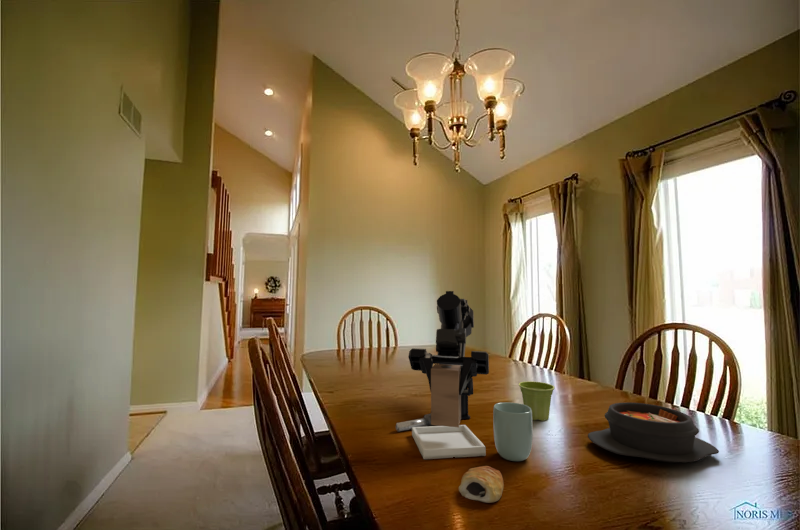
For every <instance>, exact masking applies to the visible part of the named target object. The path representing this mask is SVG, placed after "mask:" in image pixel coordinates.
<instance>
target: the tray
mask: <svg viewBox="0 0 800 530" xmlns="http://www.w3.org/2000/svg"><path fill="white" fill-rule="evenodd" d="M411 436H412V438H413V439H414V442H415V444H416V446H417V449H418V451H419V453H420V454H421V457H422V459H423V460H433V459H434V460H436V459H450V458H451V459H452V458H453V457H455V458H467V457H468V458H471V457H485V456H486V455H487V453H486V452H487V451H486V450H487V449H486V446H485V445H484V443H483V442H482V441H481V440H480V439H479V438H478V437H477V436H476V434H474V433H473V431H472V430H471V429H470V428H469V427H468V426H467V425H466V424H459V427H449V426H439V425H432V426H426V427H412V429H411ZM453 459H454V458H453Z"/></svg>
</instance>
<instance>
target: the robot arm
mask: <svg viewBox="0 0 800 530" xmlns="http://www.w3.org/2000/svg"><path fill="white" fill-rule="evenodd" d="M436 310H437V314H438V320H439V322H440V328H437V329H436V334H435V352H437V354H432V353H430V352H428V351H427V349H426V348H418V347H417V348H416V347H415V348H414V347H412V348H411V349H409V351H408V360H409V364H410V367H411V370H412V371H421V373H422V374H425V375H426V378H427V380H428V384H429V385H428V386H429V390H430V392H431V368H432V367H433V366H434V365H435V364H445V365H461V379H460V385H459V395H461V420H464V419H466V420H467V419H469V420H470V419H471V416H470V415H469V397H471V395H474V379H473V378H474V377H477V376H478V375H484V376H485V375H489V373H490V364H489V363H490V362H489V361H490V360H489V359H490V358H489V357H490V355H489V353H488V352H487V351H483V350H482V351H480V350H471V353H470V356H466V355H465V354H466V345H467V337H469V336H470V335H472V332H473V330H472V329H474V328H475V315H474V310H473V309H472V308H471V307H470V305H469V303H468V299H466V298H460V297H459V296H458V295H457V294H455V292H454V290H446V291H445V293H444V294H442V295H440V296H439V297H438V298H437V299H436Z"/></svg>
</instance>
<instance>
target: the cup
mask: <svg viewBox="0 0 800 530" xmlns="http://www.w3.org/2000/svg"><path fill="white" fill-rule="evenodd" d="M492 414H493V415H492V416H493V419H492V420H493V426H492V427H493V440H494V445H495V448H496V451H497V453H498V454H499V456H500V457H501V458H502V459H504V460H507V461H512V462H523V461H526V460H527V459H528V458H529V456H530V454H531V451H532V447H533V427H534V426H533V420H532V410H531V408H530V407H529V406H526V405H524V404H523V403H517V402H506V401H504V402H497V403H495V404H494V405H493V412H492Z"/></svg>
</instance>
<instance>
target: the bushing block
mask: <svg viewBox="0 0 800 530" xmlns="http://www.w3.org/2000/svg"><path fill="white" fill-rule="evenodd" d="M460 379H461V365H445V364H433V367H432V368H431V391H430V414H431V425H432V426H449V427H459V425H461V424H460V423H461V420H462V419H461V395H459V385H460Z"/></svg>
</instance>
